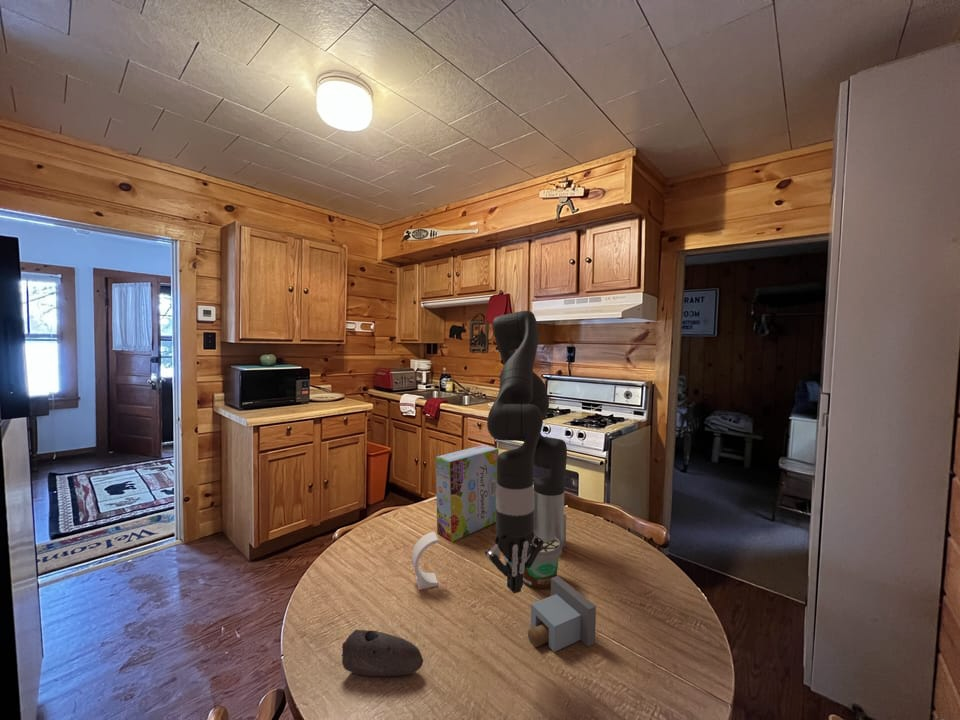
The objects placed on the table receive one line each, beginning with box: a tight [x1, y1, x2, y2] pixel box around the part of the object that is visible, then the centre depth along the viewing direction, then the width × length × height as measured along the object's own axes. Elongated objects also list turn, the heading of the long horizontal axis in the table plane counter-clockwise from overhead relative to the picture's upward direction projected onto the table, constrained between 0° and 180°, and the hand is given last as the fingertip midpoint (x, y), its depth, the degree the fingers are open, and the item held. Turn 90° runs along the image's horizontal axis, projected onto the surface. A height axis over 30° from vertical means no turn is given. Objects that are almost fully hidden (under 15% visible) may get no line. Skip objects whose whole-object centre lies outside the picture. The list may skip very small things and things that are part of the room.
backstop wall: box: [550, 575, 597, 648], centre depth 86 cm, size 2×12×8 cm, turn 29°
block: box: [530, 594, 581, 653], centre depth 84 cm, size 7×8×5 cm
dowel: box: [527, 623, 549, 648], centre depth 83 cm, size 8×3×3 cm, turn 119°
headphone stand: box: [411, 531, 439, 591], centre depth 101 cm, size 5×6×12 cm
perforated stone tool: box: [341, 629, 424, 677], centre depth 74 cm, size 15×5×7 cm, turn 83°
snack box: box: [435, 444, 500, 543], centre depth 132 cm, size 22×9×26 cm, turn 133°
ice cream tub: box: [523, 536, 563, 591], centre depth 101 cm, size 12×6×10 cm, turn 117°
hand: (514, 590), depth 78 cm, fingers closed
